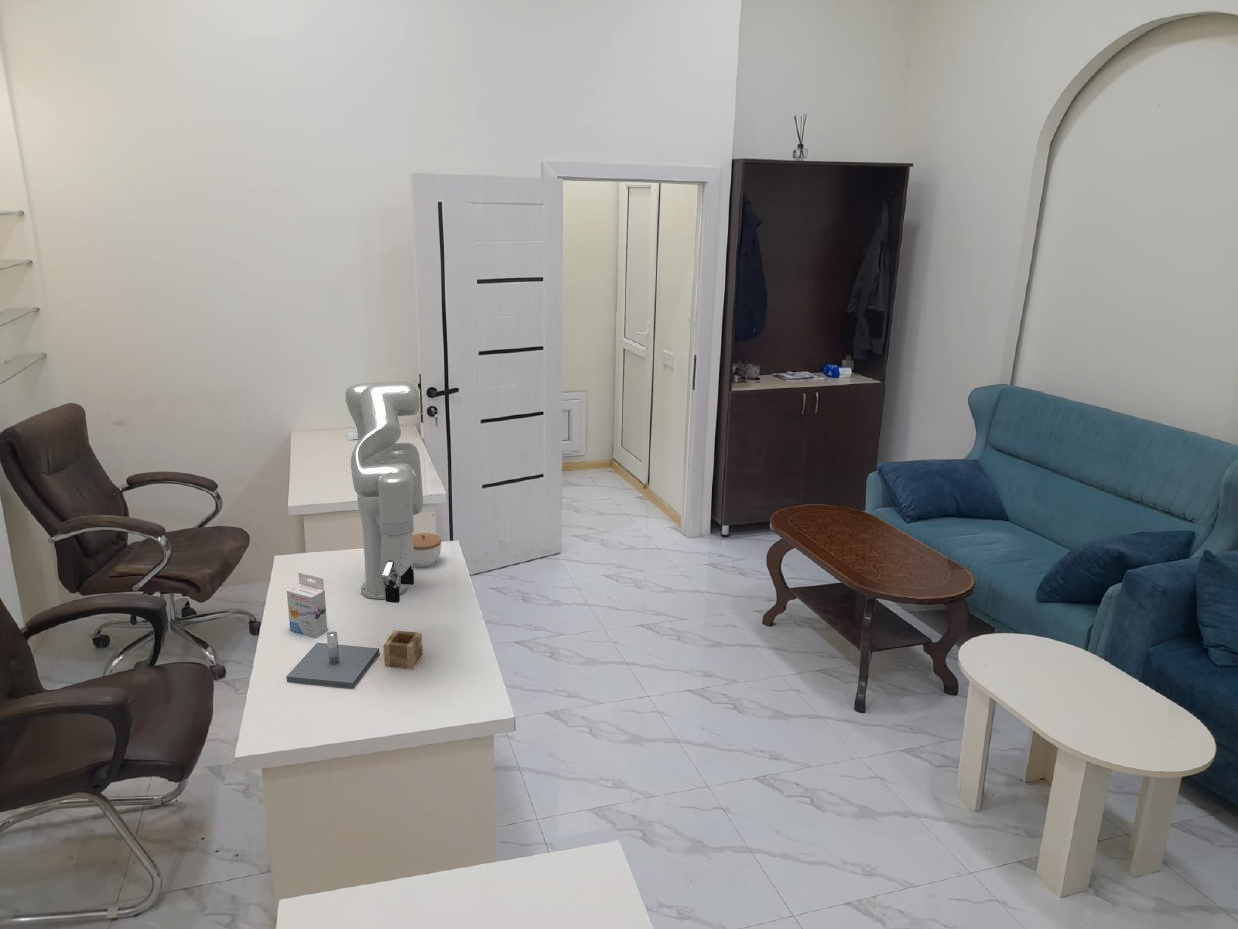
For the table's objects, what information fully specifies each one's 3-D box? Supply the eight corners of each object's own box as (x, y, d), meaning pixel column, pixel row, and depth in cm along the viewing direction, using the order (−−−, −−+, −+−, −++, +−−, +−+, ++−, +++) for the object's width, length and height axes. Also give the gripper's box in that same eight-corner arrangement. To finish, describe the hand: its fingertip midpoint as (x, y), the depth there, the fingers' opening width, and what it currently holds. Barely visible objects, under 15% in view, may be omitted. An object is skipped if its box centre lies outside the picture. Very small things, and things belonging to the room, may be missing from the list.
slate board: (317, 648, 221) (317, 642, 220) (379, 653, 219) (379, 648, 218) (286, 682, 206) (286, 676, 205) (353, 688, 204) (352, 682, 203)
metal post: (331, 658, 213) (329, 631, 211) (341, 659, 213) (339, 631, 210) (327, 664, 211) (324, 635, 208) (336, 665, 211) (334, 636, 208)
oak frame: (395, 651, 220) (394, 630, 218) (422, 654, 219) (421, 632, 217) (384, 666, 213) (383, 644, 212) (412, 669, 213) (411, 646, 211)
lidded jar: (406, 571, 265) (404, 542, 262) (405, 557, 275) (404, 529, 272) (442, 569, 267) (441, 540, 264) (441, 554, 277) (440, 527, 274)
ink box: (289, 631, 228) (284, 579, 224) (302, 623, 233) (298, 571, 228) (315, 638, 225) (310, 585, 221) (328, 630, 230) (324, 578, 225)
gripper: (394, 511, 214) (398, 576, 219) (366, 538, 198) (370, 608, 203) (424, 513, 213) (427, 579, 218) (399, 541, 197) (402, 610, 202)
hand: (400, 592), depth 211 cm, fingers open, 9 cm apart
